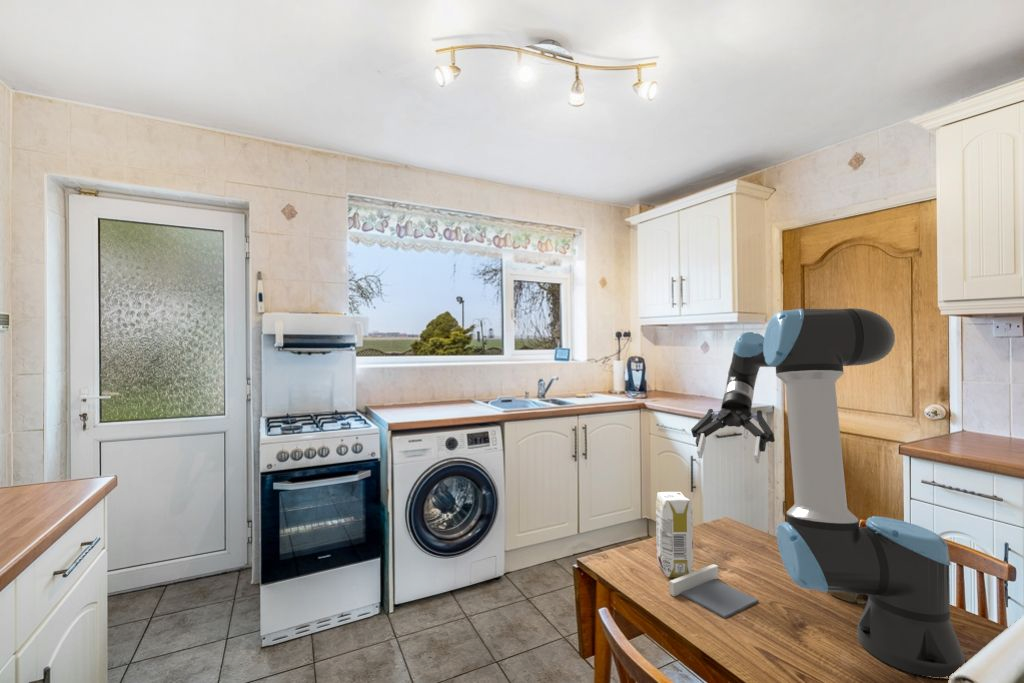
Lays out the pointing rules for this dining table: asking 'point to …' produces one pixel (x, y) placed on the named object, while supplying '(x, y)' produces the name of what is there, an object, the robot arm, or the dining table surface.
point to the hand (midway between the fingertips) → (726, 457)
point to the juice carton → (674, 533)
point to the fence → (693, 579)
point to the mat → (719, 598)
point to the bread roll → (851, 597)
